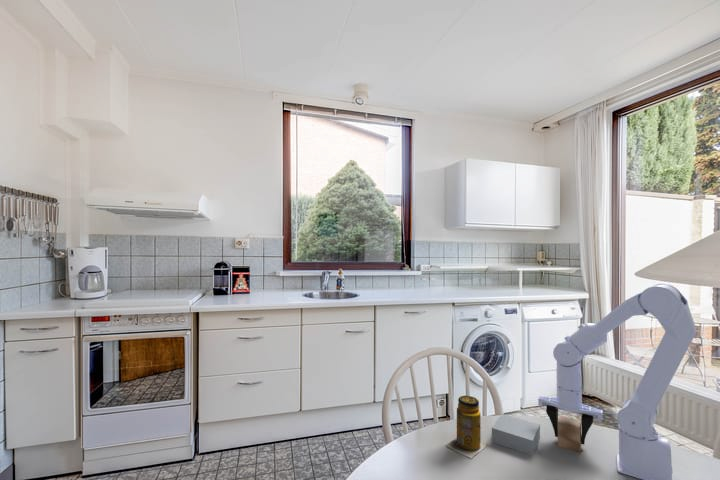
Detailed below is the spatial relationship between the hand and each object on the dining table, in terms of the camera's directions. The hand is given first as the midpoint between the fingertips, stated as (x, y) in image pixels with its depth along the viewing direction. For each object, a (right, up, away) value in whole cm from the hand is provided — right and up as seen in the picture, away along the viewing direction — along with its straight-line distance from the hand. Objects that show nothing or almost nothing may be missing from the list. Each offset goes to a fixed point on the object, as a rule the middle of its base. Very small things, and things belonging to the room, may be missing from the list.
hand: (569, 438), depth 90 cm
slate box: (-13, -2, +2) cm, 14 cm away
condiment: (-28, -2, -1) cm, 28 cm away
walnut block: (0, -2, 0) cm, 2 cm away
